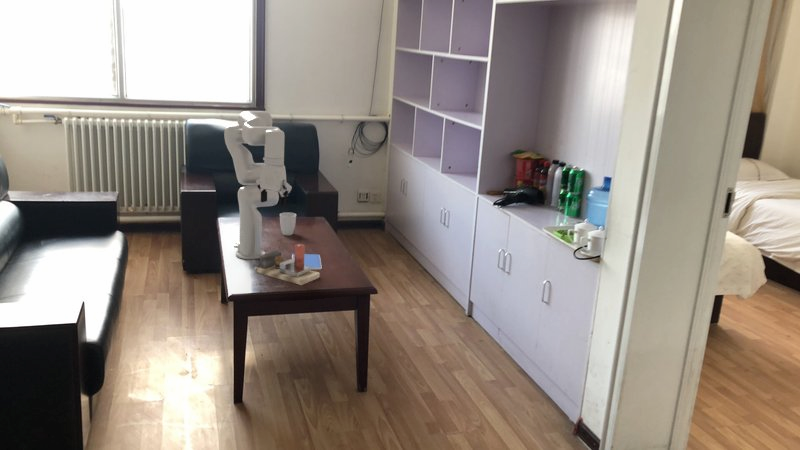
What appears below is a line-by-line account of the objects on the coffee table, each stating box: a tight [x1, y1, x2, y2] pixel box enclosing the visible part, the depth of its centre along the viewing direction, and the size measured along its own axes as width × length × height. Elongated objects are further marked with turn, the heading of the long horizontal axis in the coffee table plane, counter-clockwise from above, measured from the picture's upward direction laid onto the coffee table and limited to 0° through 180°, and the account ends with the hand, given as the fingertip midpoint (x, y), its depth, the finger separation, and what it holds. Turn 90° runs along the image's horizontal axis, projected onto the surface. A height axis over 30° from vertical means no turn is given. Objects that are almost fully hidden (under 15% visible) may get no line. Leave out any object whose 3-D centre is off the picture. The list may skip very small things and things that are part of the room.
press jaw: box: [279, 243, 312, 277], centre depth 277 cm, size 9×9×12 cm
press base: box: [256, 250, 321, 286], centre depth 280 cm, size 23×12×7 cm, turn 60°
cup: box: [279, 212, 297, 236], centre depth 336 cm, size 8×8×10 cm
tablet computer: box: [291, 253, 323, 271], centre depth 298 cm, size 19×13×1 cm, turn 9°
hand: (273, 203), depth 271 cm, fingers open, 9 cm apart
